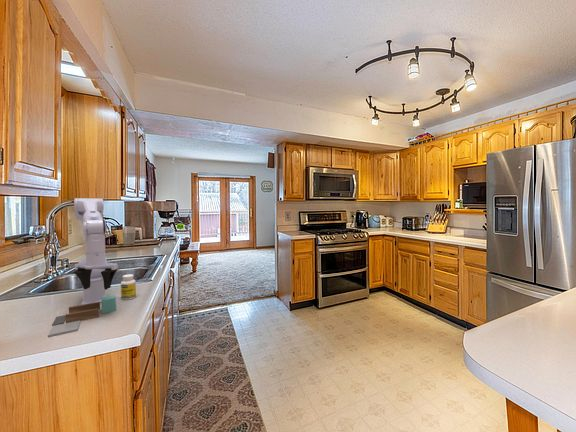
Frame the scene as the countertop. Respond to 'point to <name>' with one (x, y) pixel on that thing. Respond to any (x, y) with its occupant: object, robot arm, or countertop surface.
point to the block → (108, 304)
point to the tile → (64, 328)
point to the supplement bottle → (128, 287)
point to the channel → (83, 312)
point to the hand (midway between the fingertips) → (97, 288)
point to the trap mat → (59, 320)
